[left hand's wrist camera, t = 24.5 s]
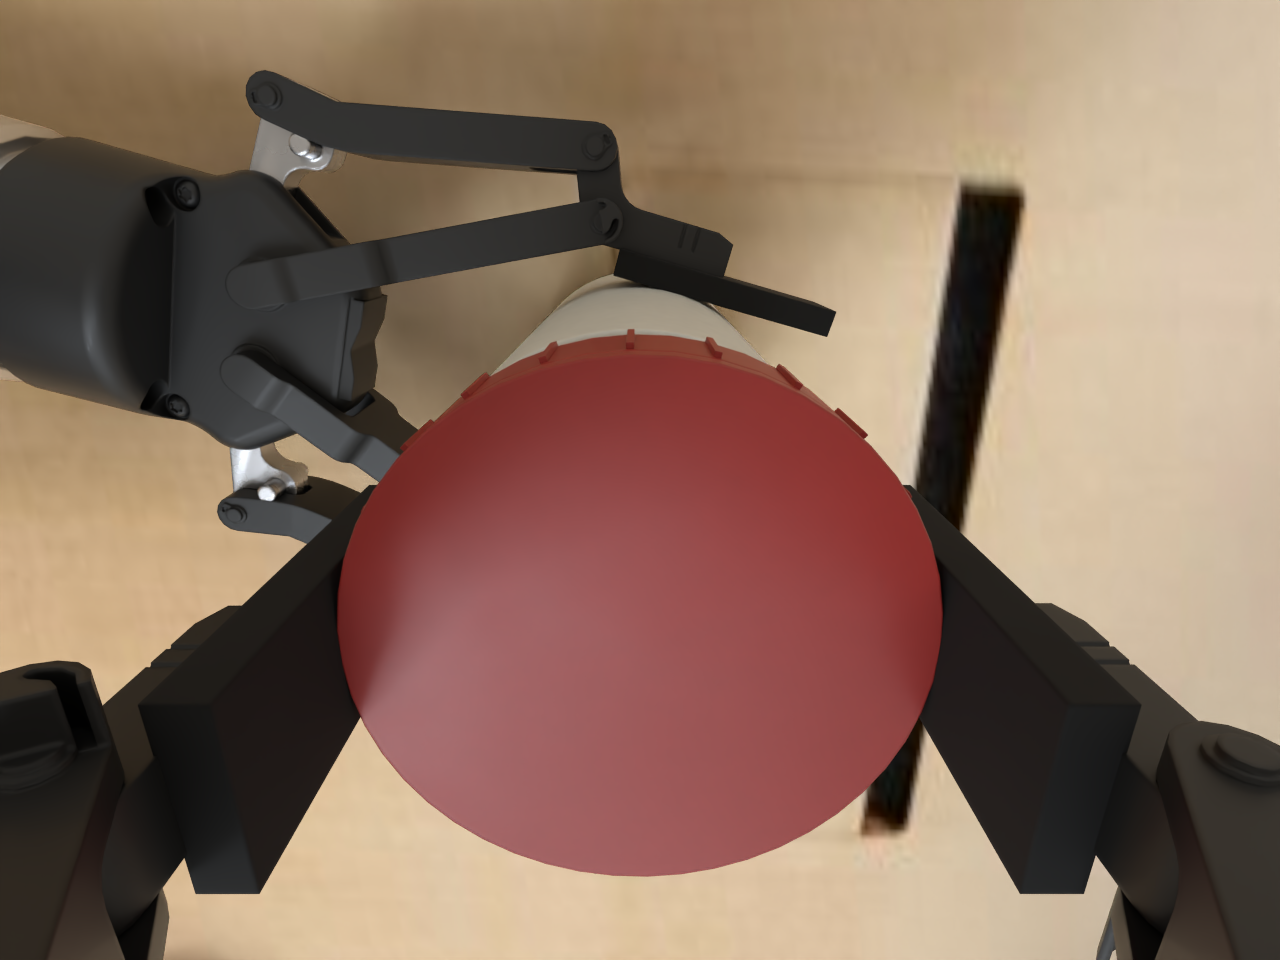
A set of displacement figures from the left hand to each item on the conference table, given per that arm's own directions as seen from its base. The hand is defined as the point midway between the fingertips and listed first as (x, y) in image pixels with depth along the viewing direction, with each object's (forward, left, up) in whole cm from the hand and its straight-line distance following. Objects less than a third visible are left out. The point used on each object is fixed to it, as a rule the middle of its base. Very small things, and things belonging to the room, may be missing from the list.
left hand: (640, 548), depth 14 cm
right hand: (-4, -2, -9) cm, 10 cm away
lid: (0, 0, +3) cm, 3 cm away
